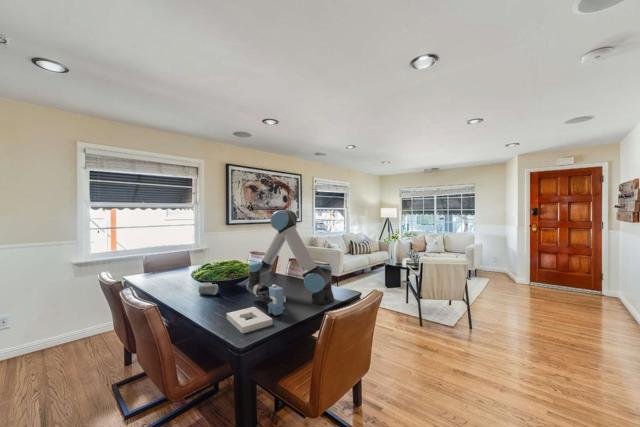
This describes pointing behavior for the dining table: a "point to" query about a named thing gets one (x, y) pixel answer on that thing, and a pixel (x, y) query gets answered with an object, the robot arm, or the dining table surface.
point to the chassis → (252, 324)
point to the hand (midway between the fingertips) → (280, 300)
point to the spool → (208, 288)
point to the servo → (277, 294)
